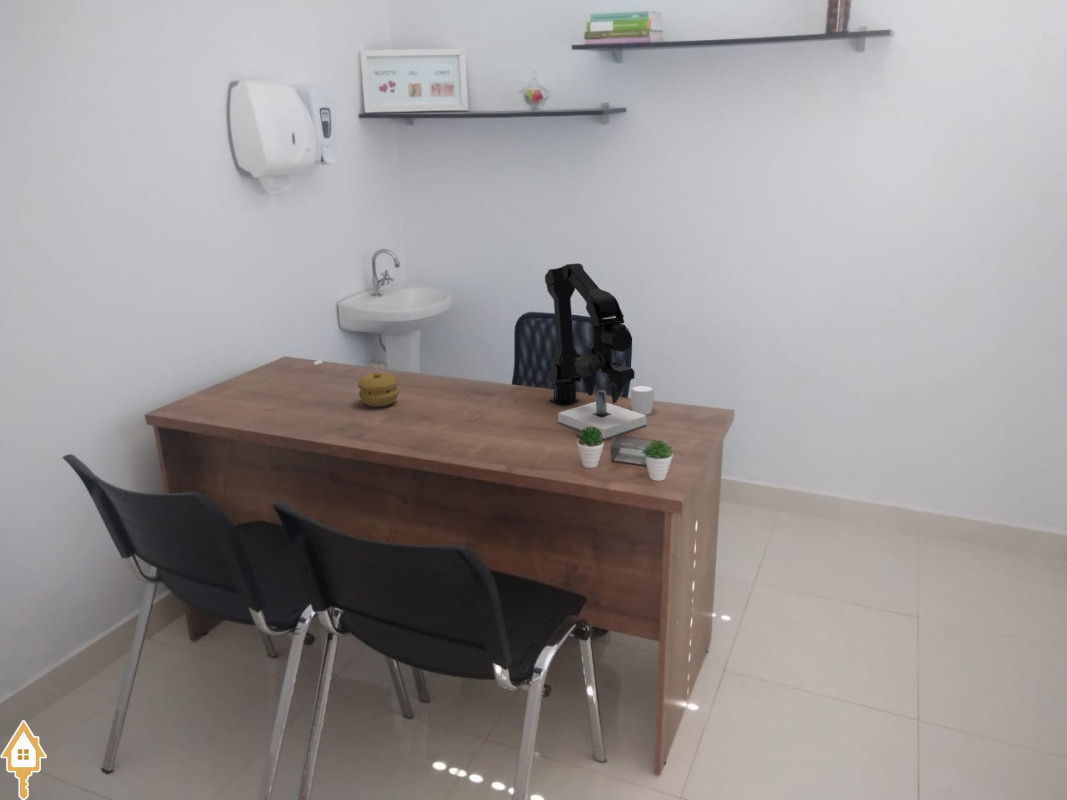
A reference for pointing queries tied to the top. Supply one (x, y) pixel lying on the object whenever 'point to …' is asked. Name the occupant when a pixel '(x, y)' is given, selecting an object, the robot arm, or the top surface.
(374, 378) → the pot
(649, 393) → the white cup
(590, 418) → the bore board
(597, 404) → the steel pin
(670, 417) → the top surface
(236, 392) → the top surface
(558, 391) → the robot arm
